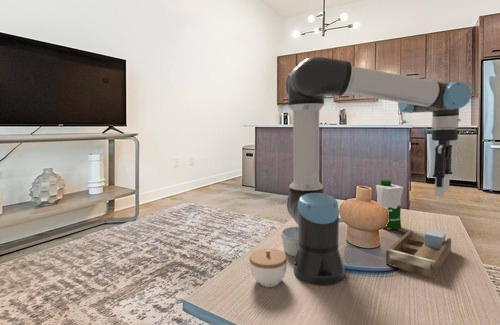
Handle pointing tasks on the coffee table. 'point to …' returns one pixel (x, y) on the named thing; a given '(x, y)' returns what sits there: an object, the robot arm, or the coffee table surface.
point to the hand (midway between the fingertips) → (441, 193)
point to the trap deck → (417, 255)
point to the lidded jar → (268, 266)
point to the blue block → (434, 239)
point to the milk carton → (390, 201)
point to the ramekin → (290, 240)
